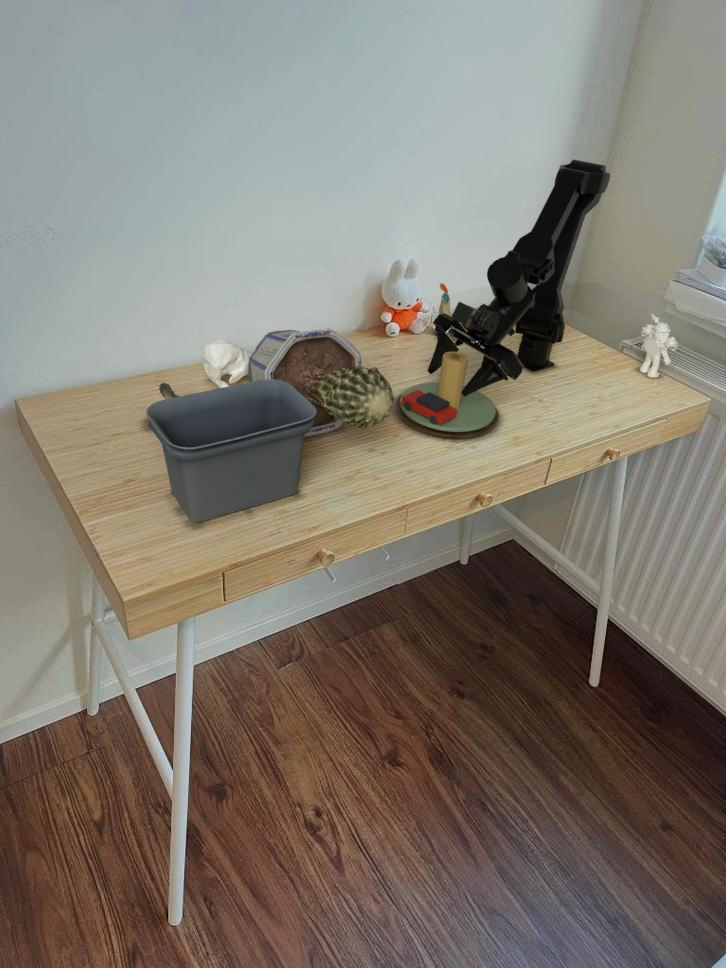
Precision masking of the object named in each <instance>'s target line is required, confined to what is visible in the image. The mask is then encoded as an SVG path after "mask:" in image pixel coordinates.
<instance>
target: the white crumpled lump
mask: <svg viewBox="0 0 726 968" xmlns="http://www.w3.org/2000/svg"><path fill="white" fill-rule="evenodd" d="M252 354H253V353H250V352H249V351H246V349H244V348H242V347H241V346H240V345H238V344H236V343H233V342H232V341H230V340H227V339H215V340H214V341H211V342H208V343H206V344H205V345H204V346H203V349H202V352H201V355H200V358H201V361H202V366H203V370H204V372H205V374H206V377H207V378H208V379H209V380H210V381H211V382H213V383H214V384H215V385H217V387H218V389H219V388H223V387H228V386H230V385H229V384H228V383H227V382H226V381H225V380H222V377H223V376H224V375H226V374H227V375H231V376H230V378H229V379H228V382H229V383H230V384H232V385H233V384H234V383H236V382H238V381H239V380H241V379H242V378H244V377H245V376H249V375H248V362H249V358H250V357H251V355H252Z"/></svg>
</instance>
